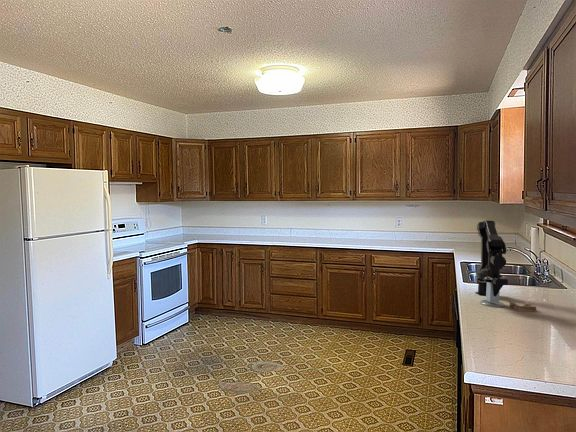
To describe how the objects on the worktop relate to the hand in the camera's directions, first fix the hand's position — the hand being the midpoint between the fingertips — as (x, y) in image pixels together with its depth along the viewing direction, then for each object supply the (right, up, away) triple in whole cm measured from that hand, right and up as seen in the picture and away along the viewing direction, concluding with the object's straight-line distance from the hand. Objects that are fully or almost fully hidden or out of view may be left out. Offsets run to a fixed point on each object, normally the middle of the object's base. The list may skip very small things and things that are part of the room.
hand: (492, 295), depth 223 cm
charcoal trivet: (0, -5, 0) cm, 5 cm away
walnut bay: (+11, -5, -7) cm, 14 cm away
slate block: (0, -3, 0) cm, 3 cm away
